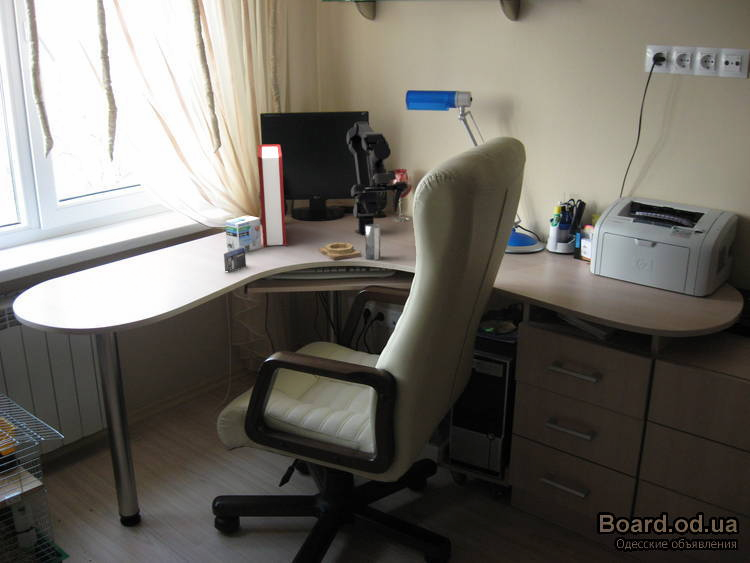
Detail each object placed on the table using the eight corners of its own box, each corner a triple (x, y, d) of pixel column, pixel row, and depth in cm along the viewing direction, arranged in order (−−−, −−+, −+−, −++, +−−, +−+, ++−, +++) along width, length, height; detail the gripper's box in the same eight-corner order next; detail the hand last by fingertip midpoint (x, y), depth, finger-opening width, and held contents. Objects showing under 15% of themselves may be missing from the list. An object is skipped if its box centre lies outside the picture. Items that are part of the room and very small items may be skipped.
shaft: (362, 257, 247) (362, 225, 243) (375, 254, 249) (375, 223, 246) (370, 261, 243) (369, 228, 239) (383, 258, 245) (383, 226, 241)
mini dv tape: (228, 272, 232) (227, 254, 230) (225, 271, 233) (223, 253, 231) (246, 265, 239) (244, 248, 237) (242, 265, 240) (241, 247, 238)
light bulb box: (239, 254, 251) (237, 223, 248) (226, 251, 255) (224, 220, 252) (262, 247, 259) (260, 217, 256) (249, 244, 263) (247, 214, 260)
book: (286, 246, 260) (281, 155, 250) (263, 247, 259) (257, 156, 249) (284, 227, 286) (280, 144, 275) (263, 228, 285) (258, 144, 274)
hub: (318, 251, 253) (318, 244, 253) (344, 247, 258) (344, 240, 257) (333, 260, 244) (333, 252, 243) (360, 256, 248) (360, 248, 247)
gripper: (354, 163, 242) (359, 209, 239) (409, 160, 246) (414, 205, 244) (348, 173, 252) (353, 217, 250) (401, 170, 257) (406, 214, 254)
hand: (382, 213), depth 249 cm, fingers open, 9 cm apart
